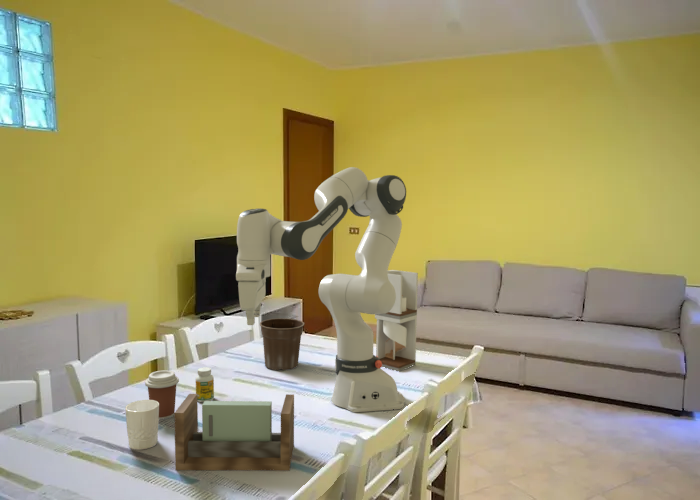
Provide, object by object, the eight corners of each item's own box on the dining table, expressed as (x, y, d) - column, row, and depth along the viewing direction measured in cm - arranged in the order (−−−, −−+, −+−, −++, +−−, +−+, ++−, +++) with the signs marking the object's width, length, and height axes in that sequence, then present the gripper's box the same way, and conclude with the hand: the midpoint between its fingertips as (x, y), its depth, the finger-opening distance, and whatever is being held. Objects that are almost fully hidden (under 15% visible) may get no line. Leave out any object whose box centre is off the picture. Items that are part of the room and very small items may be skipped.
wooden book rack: (293, 446, 136) (294, 394, 135) (289, 470, 124) (289, 413, 123) (190, 445, 136) (189, 393, 135) (175, 469, 124) (174, 412, 123)
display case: (374, 364, 203) (375, 272, 200) (391, 358, 211) (393, 269, 208) (398, 371, 196) (401, 275, 192) (415, 365, 204) (417, 272, 200)
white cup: (132, 437, 140) (131, 399, 139) (163, 436, 141) (162, 399, 140) (122, 451, 132) (120, 412, 131) (155, 450, 133) (154, 411, 132)
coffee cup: (141, 413, 156) (140, 372, 154) (173, 406, 161) (172, 367, 160) (151, 424, 148) (150, 381, 147) (184, 416, 154) (183, 375, 152)
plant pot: (312, 363, 204) (312, 321, 202) (286, 375, 190) (286, 330, 188) (278, 356, 212) (278, 316, 210) (250, 367, 198) (250, 324, 197)
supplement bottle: (210, 395, 170) (210, 365, 169) (216, 400, 166) (216, 370, 165) (193, 398, 167) (193, 368, 166) (199, 404, 163) (198, 373, 162)
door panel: (271, 449, 131) (271, 401, 130) (270, 454, 129) (270, 405, 127) (205, 448, 131) (204, 400, 130) (202, 454, 128) (201, 405, 127)
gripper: (248, 264, 155) (248, 312, 156) (234, 274, 135) (234, 329, 136) (270, 264, 155) (270, 312, 157) (259, 275, 135) (260, 329, 136)
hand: (253, 320), depth 146 cm, fingers open, 8 cm apart
